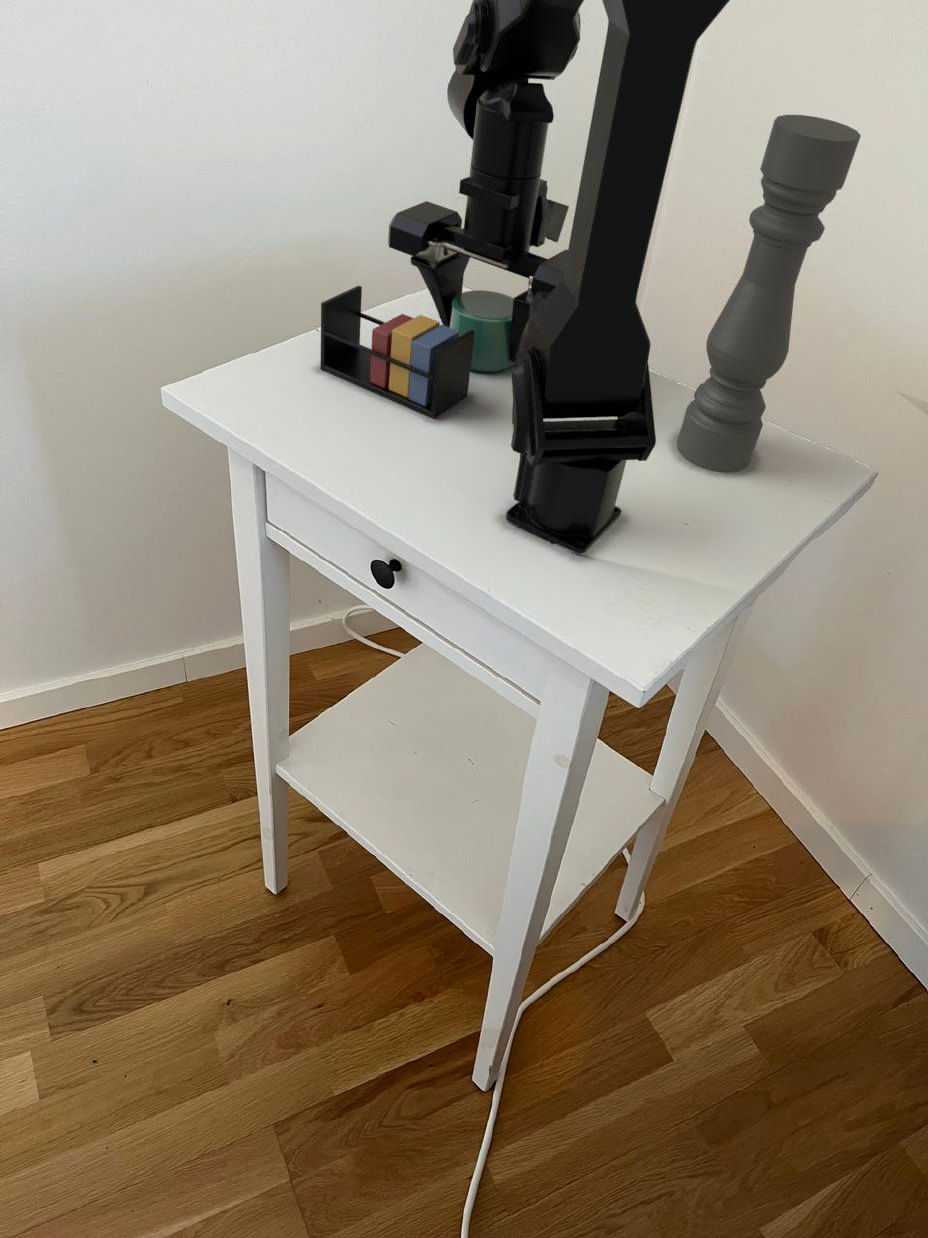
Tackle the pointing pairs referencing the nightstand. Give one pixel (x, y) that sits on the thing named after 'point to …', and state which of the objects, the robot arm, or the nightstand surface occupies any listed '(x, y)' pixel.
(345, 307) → the rack
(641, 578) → the nightstand surface
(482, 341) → the green glass jar
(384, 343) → the books
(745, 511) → the nightstand surface
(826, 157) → the candle holder
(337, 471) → the nightstand surface
